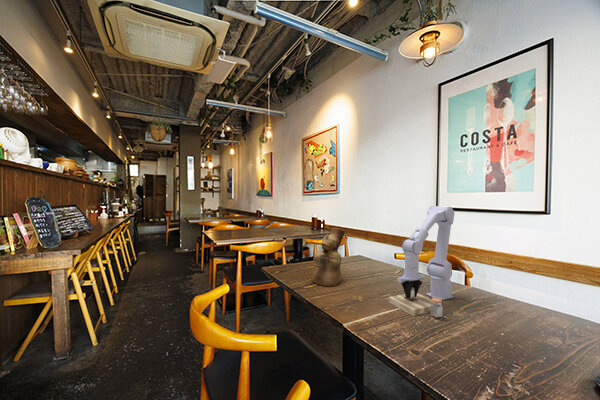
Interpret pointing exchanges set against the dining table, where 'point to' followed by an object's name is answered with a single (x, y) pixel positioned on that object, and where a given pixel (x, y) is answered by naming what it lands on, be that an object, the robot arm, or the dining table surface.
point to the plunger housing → (436, 310)
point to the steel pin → (412, 294)
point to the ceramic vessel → (329, 259)
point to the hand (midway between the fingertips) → (410, 296)
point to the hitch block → (412, 304)
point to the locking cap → (436, 301)
